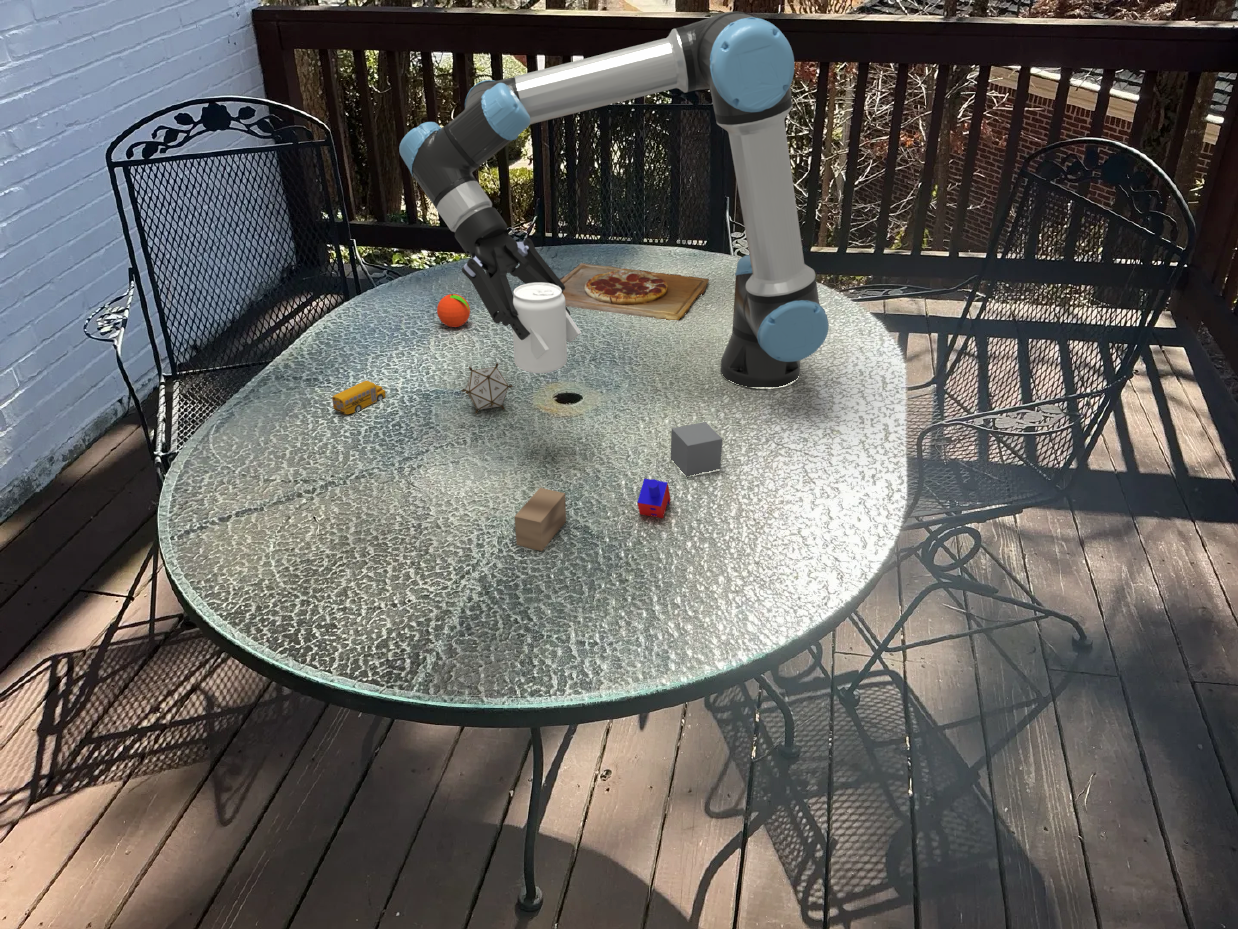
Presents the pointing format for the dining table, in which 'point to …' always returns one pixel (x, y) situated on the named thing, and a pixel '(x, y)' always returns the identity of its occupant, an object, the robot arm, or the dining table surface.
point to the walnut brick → (540, 519)
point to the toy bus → (357, 397)
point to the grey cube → (696, 448)
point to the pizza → (631, 291)
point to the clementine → (453, 310)
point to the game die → (486, 388)
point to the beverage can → (541, 326)
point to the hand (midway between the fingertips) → (559, 345)
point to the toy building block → (653, 498)
